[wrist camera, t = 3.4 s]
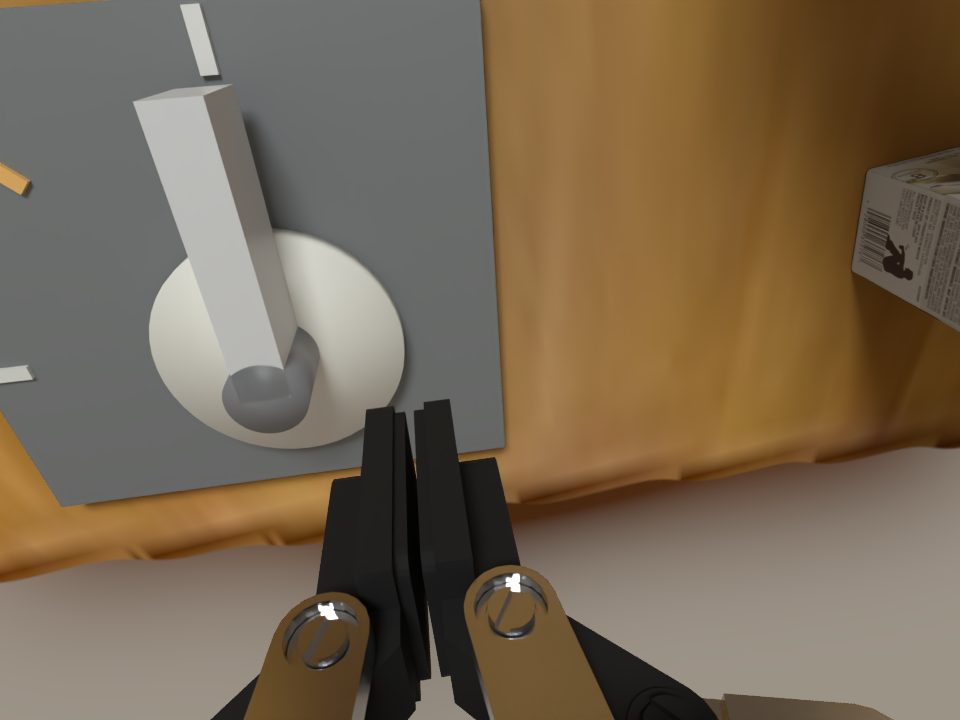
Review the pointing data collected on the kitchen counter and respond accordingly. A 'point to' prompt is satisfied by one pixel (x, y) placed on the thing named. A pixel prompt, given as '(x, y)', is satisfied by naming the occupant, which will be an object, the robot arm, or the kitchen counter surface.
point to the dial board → (288, 198)
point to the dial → (259, 294)
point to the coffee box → (914, 233)
